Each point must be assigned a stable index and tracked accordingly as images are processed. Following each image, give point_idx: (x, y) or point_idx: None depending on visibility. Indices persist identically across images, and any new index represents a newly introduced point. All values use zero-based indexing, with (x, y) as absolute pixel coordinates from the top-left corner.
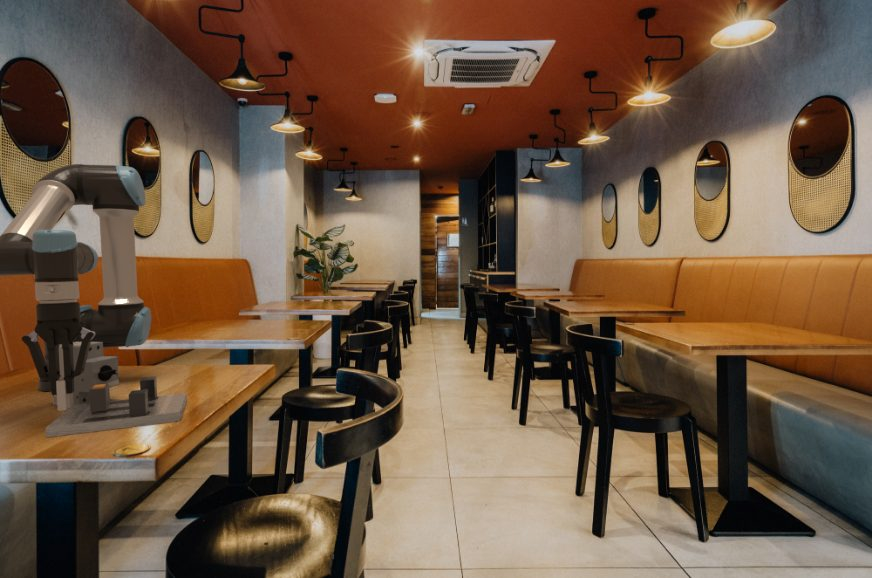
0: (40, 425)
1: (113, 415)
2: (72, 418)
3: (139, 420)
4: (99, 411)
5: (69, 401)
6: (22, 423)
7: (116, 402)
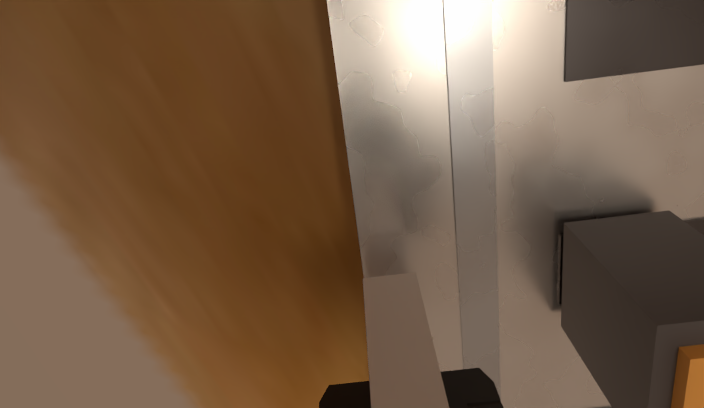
0: (242, 238)
1: None
2: None
3: None
4: None
5: (421, 299)
6: (86, 152)
7: (694, 43)
